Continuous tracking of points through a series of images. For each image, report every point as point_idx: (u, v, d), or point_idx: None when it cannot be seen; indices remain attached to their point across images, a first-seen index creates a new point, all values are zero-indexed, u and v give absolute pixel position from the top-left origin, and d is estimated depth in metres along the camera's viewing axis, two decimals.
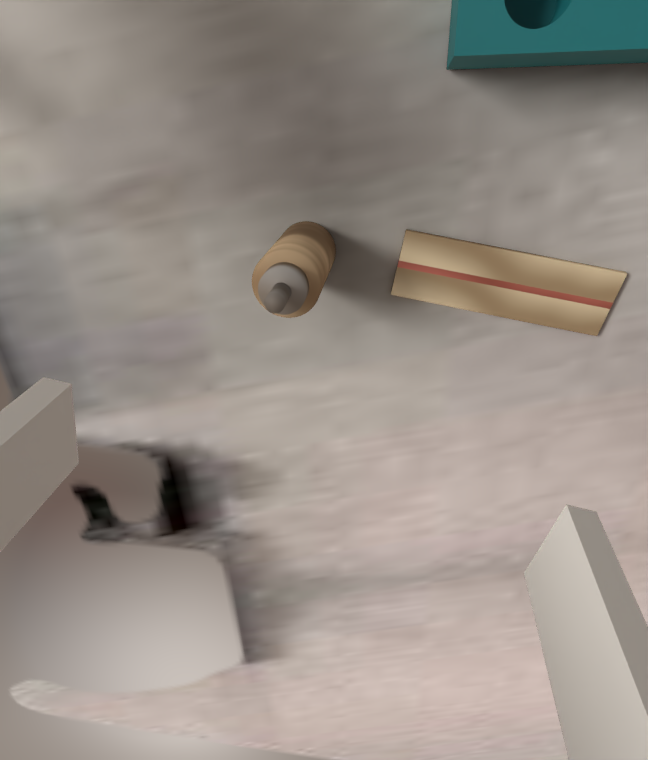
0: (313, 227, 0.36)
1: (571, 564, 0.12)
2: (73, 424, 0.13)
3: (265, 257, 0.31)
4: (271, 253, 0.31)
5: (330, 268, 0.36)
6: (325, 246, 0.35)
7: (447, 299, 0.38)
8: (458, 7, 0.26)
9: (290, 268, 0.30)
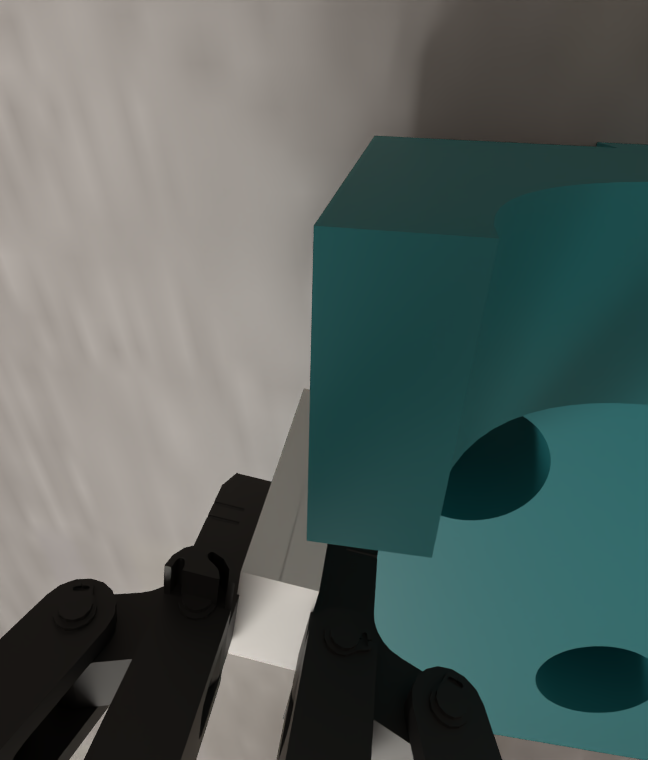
0: None
1: None
2: None
3: None
4: None
5: None
6: None
7: None
8: None
9: None
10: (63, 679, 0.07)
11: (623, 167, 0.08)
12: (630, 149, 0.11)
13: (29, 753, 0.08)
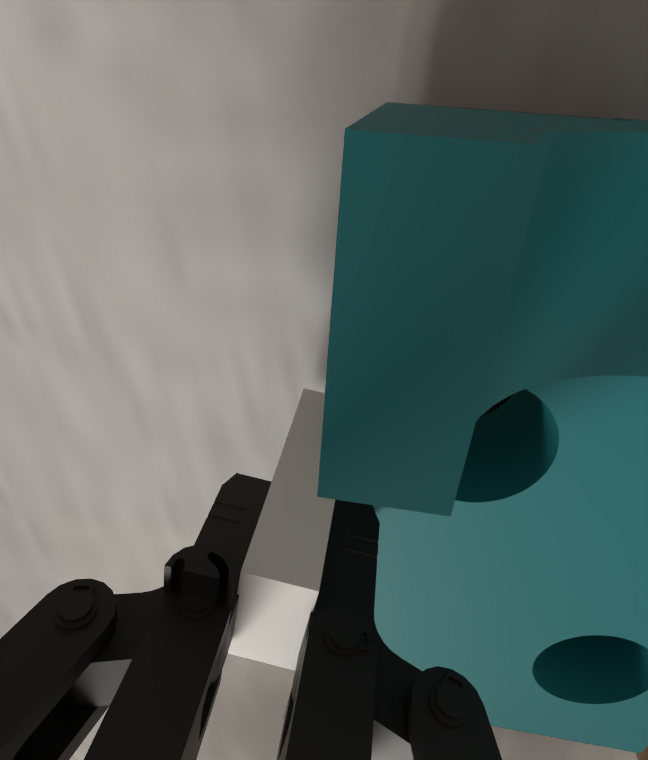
0: None
1: None
2: None
3: None
4: None
5: None
6: None
7: None
8: None
9: None
10: (63, 679, 0.07)
11: None
12: None
13: (29, 753, 0.08)
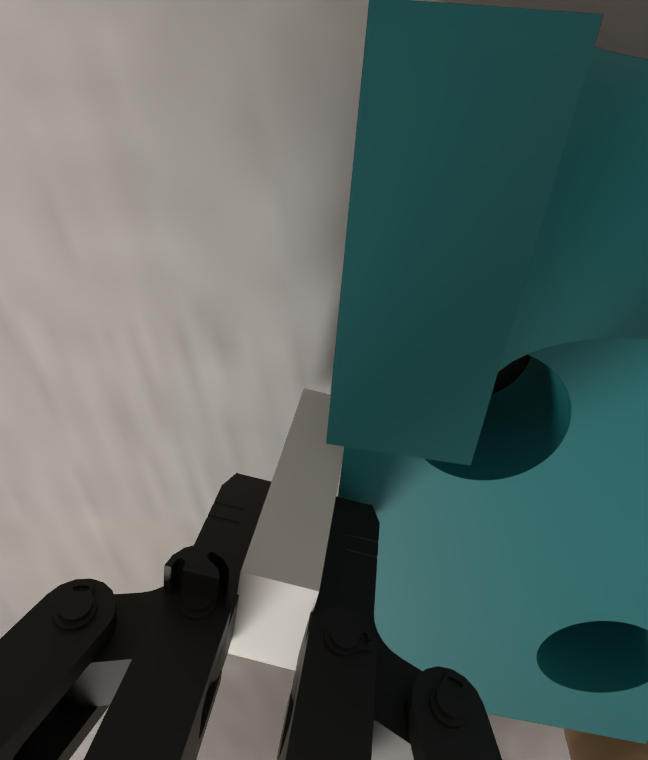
0: (581, 750, 0.23)
1: None
2: None
3: None
4: None
5: None
6: None
7: None
8: None
9: None
10: (63, 679, 0.07)
11: None
12: None
13: (29, 753, 0.08)
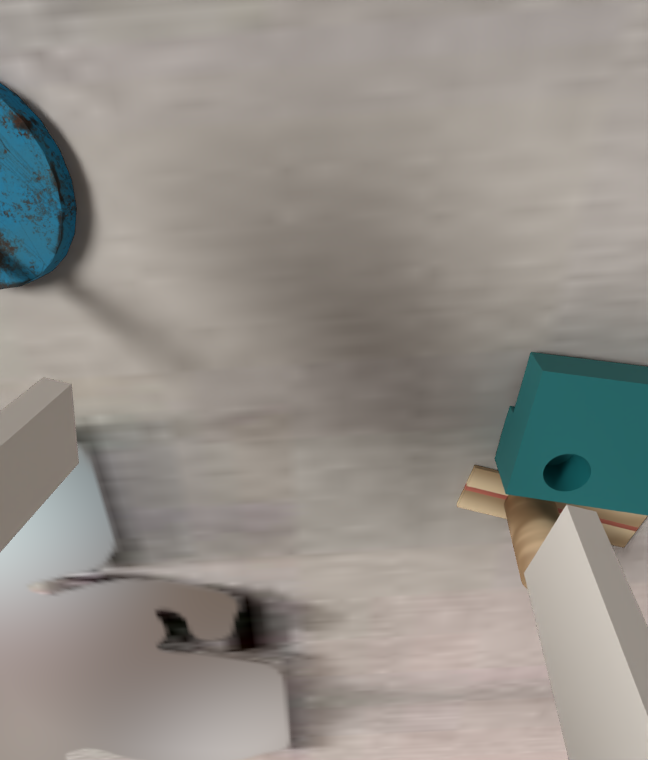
0: (546, 500, 0.44)
1: (571, 564, 0.12)
2: (73, 424, 0.13)
3: None
4: None
5: None
6: None
7: (503, 514, 0.47)
8: (512, 471, 0.39)
9: None
10: None
11: None
12: None
13: None
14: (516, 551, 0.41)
